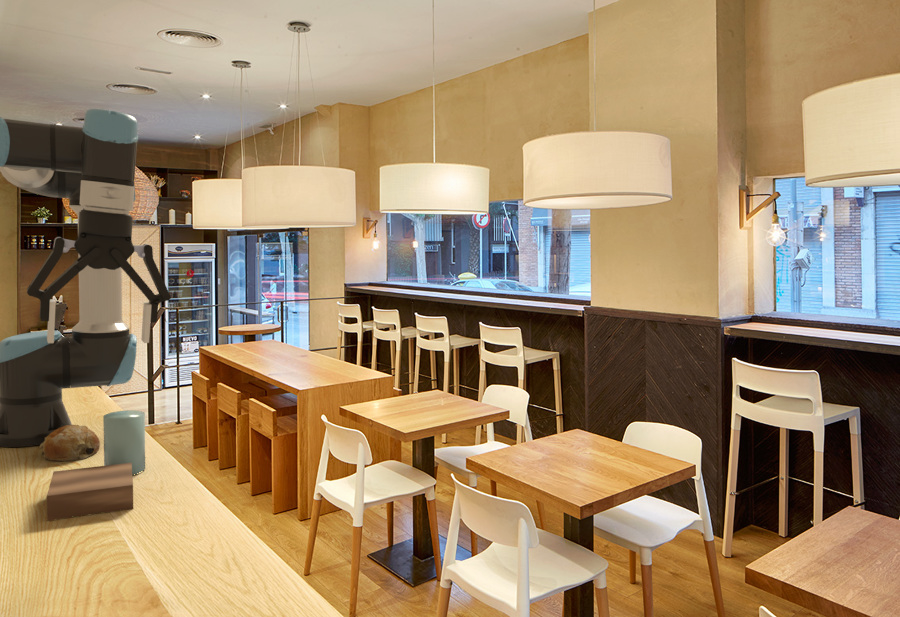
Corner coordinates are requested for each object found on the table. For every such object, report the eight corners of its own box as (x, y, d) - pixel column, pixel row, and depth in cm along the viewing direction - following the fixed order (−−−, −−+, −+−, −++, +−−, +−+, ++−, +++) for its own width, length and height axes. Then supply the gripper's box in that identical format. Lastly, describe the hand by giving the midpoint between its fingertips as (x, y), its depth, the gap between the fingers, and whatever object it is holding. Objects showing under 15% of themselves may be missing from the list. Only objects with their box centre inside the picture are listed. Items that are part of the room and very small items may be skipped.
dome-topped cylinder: (104, 467, 123) (103, 412, 122) (144, 463, 126) (143, 409, 125) (103, 479, 116) (103, 421, 115) (146, 474, 120) (145, 417, 119)
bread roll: (64, 481, 125) (78, 447, 123) (23, 455, 126) (37, 421, 125) (101, 465, 134) (114, 433, 133) (63, 441, 136) (76, 409, 134)
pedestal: (54, 494, 109) (53, 471, 109) (131, 484, 115) (131, 462, 114) (47, 520, 98) (46, 496, 98) (133, 508, 104) (133, 484, 104)
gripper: (11, 201, 90) (6, 346, 93) (194, 220, 105) (185, 345, 107) (11, 200, 96) (6, 336, 99) (183, 218, 111) (175, 337, 113)
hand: (99, 341), depth 103 cm, fingers open, 13 cm apart
